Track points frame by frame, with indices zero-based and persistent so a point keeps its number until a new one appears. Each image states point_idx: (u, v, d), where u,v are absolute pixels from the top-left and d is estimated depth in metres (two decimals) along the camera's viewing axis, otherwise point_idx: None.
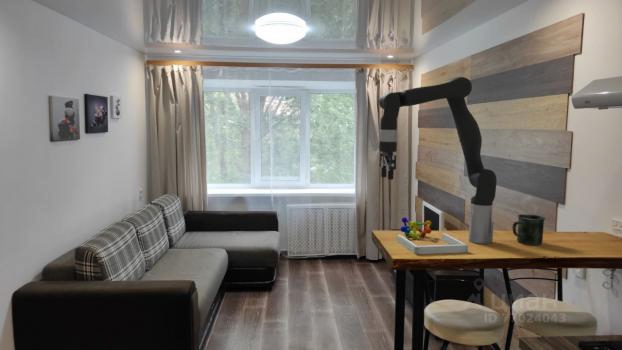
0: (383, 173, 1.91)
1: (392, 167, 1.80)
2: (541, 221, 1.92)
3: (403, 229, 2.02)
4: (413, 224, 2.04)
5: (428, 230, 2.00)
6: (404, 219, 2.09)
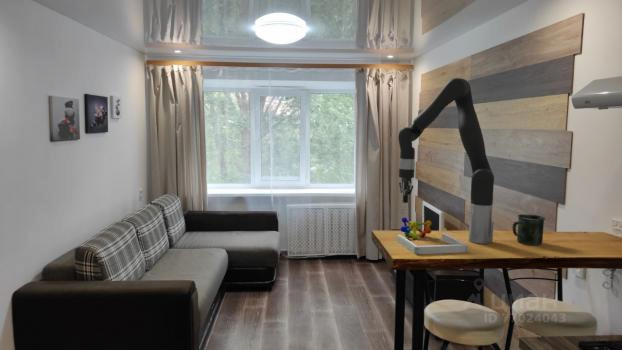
0: None
1: (407, 193, 2.13)
2: (541, 221, 1.92)
3: (403, 229, 2.02)
4: (413, 224, 2.04)
5: (428, 230, 2.00)
6: (404, 219, 2.09)
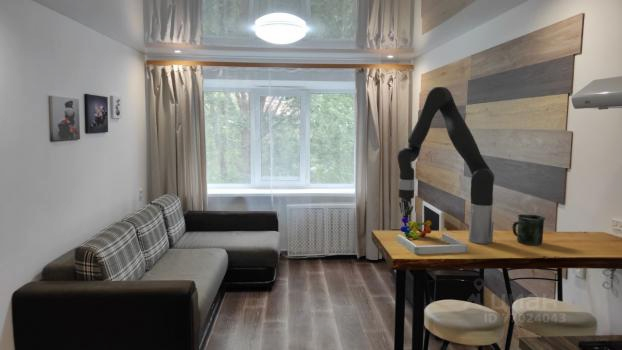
0: None
1: (407, 213, 2.14)
2: (541, 221, 1.92)
3: (403, 229, 2.02)
4: (413, 224, 2.04)
5: (428, 230, 2.00)
6: (404, 219, 2.09)
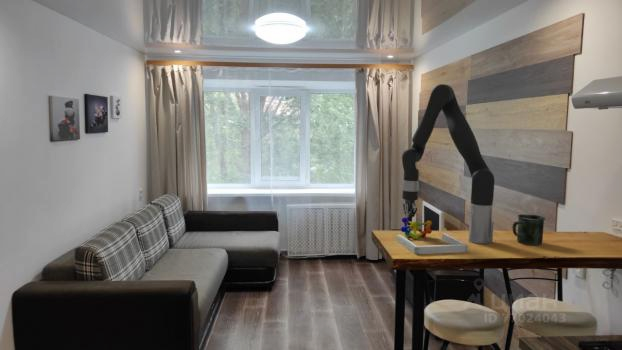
0: None
1: (411, 215, 2.09)
2: (541, 221, 1.92)
3: (403, 229, 2.01)
4: (413, 224, 2.03)
5: (428, 230, 1.99)
6: (404, 219, 2.08)
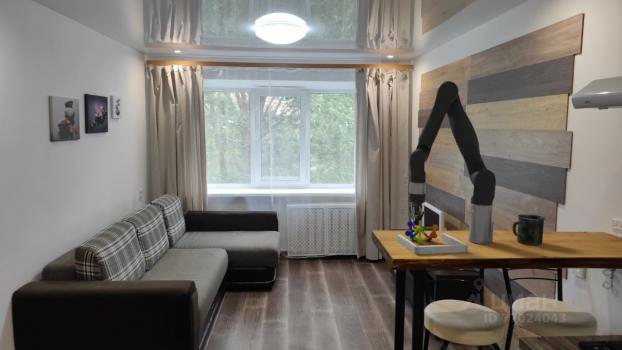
0: None
1: (418, 218, 2.01)
2: (541, 221, 1.92)
3: (407, 233, 1.93)
4: (418, 228, 1.95)
5: (434, 235, 1.91)
6: (410, 223, 2.01)
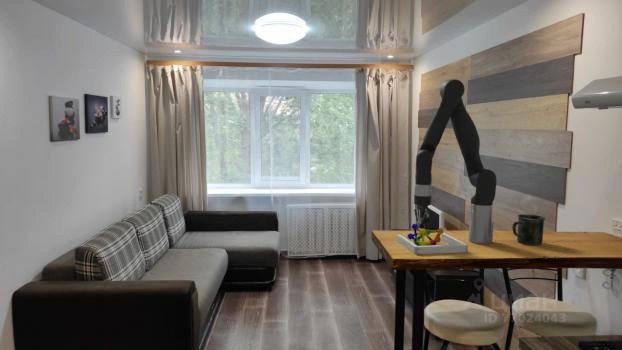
0: None
1: (424, 221, 1.95)
2: (541, 221, 1.92)
3: (410, 236, 1.88)
4: (422, 231, 1.89)
5: (437, 239, 1.84)
6: (414, 226, 1.95)
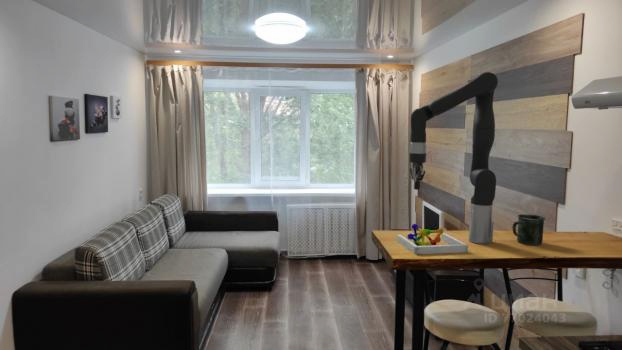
0: None
1: (419, 178, 2.00)
2: (541, 221, 1.92)
3: (410, 236, 1.88)
4: (422, 232, 1.89)
5: (437, 239, 1.84)
6: (414, 226, 1.95)
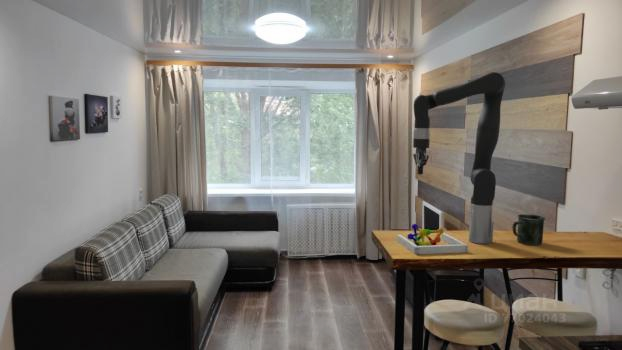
0: None
1: (422, 163, 2.05)
2: (541, 221, 1.92)
3: (410, 236, 1.88)
4: (422, 232, 1.89)
5: (437, 239, 1.84)
6: (414, 226, 1.95)
